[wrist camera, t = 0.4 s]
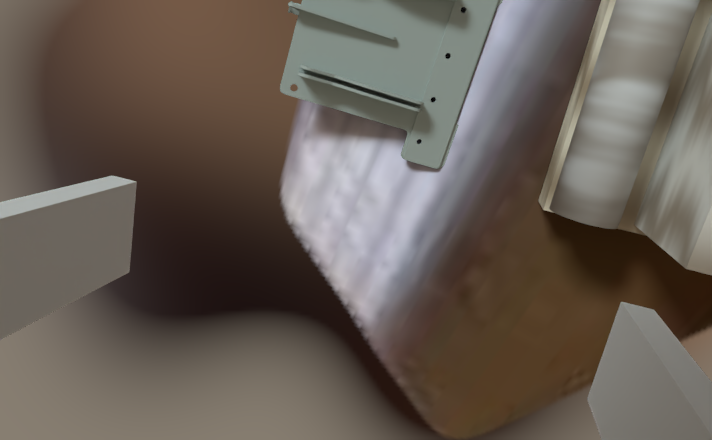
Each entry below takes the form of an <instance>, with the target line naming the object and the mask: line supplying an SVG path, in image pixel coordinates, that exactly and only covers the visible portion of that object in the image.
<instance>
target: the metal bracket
mask: <svg viewBox="0 0 712 440" xmlns="http://www.w3.org/2000/svg"><path fill="white" fill-rule="evenodd" d="M502 1H503V0H302V3H301V4H298V3H293V2H292V1H291V3H289V4H288V6H289V11H288V12H289V13H290V12H291V13H293V14H296V15H298V19H297V23H296V27H295V31H294V35H293V38H292V42H291V46H290V50H289V54H288V58H287V62H286V66H285V70H284V74H283V78H282V81H281V85H280V90H281V92H282V93H283V94H287V95H290V96H293V97H297V98H300V99H303V100H306V101H310V102H313V103H316V104H320V105H323V106H326V107H330V108H333V109H336V110H340V111H343V112H346V113H350V114H353V115H356V116H360V117H363V118H366V119H370V120H373V121H377V122H380V123H383V124H387V125H390V126H393V127H397V128H400V129H403V130H405V131H406V132H407V137H406V140H405V143H404V146H403V149H402V152H401V156H402V158H403V159H405V160H407V161H410V162H414V163H417V164H421V165H424V166H428V167H431V168H435V169H440V168H442V167H443V166H444V164H445V161H446V159H447V156H448V153H449V150H450V147H451V144H452V142H453V139H454V136H455V133H456V130H457V128H458V124H457V119H458V116H459V113H460V110H461V108H462V105H463V102H464V99H465V96H466V93H467V91H468V88H469V85H470V82H471V79H472V76H473V74H474V71H475V68H476V65H477V62H478V59H479V57H480V54H481V51H482V48H483V45H484V42H485V40H486V37H487V34H488V31H489V28H490V25H491V23H492V20H493V17H494V14H495V11H496V8H497V6H498V5H499V4H501V3H502ZM462 7H464V8H465V9H466V12H465V13H462V12H461V8H462ZM447 53H449V54H450V58H449V59H447V58H446V57H445V55H446V54H447ZM292 84H296V85H297V86H298V90H297V91H295V92H293V91H291V89H290V86H291V85H292ZM432 97H435V99H436V100H435V102H431V98H432ZM418 139H421V143H420V144H417V140H418Z"/></svg>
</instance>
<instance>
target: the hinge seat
mask: <svg viewBox="0 0 712 440" xmlns="http://www.w3.org/2000/svg"><path fill="white" fill-rule="evenodd" d="M538 201H539V203H540V205H541V207H542V209H543V210H545V211H549V212H553V213H556V214H558V215H560V216H563V217H565V218H568V219H571V220H574V221H577V222H580V223H584V224H587V225H591V226H596V227H600V228H606V229H621V230H625V231H629V232H633V233H637V234H641V235H645V236H648V237H649V238H650V239H651V240H653V241H654V242H655V243H656V244H657V245H658V246H660V247H661V248H662V249H663V250H664V251H665V252H667V253H668V254H669V255H670V256H671V257H673V258H674V259H675V260H676V261H677V262H678V263H680V264H681V265H682V266H683V267H684V268H685V269H688V270H692V271H696V272H700V273H704V274H708V275H712V0H601V3H600V7H599V10H598V13H597V16H596V19H595V22H594V26H593V29H592V32H591V35H590V38H589V42H588V45H587V48H586V51H585V54H584V57H583V61H582V64H581V67H580V70H579V73H578V76H577V80H576V83H575V86H574V89H573V92H572V96H571V99H570V102H569V105H568V108H567V111H566V115H565V118H564V121H563V124H562V127H561V131H560V134H559V137H558V140H557V143H556V146H555V150H554V153H553V156H552V159H551V162H550V166H549V169H548V172H547V175H546V178H545V181H544V185H543V188H542V191H541V194H540V197H539V200H538Z"/></svg>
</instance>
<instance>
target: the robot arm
mask: <svg viewBox="0 0 712 440" xmlns="http://www.w3.org/2000/svg"><path fill="white" fill-rule="evenodd" d="M136 183H137V182H135V181H132V180H127V179H123V178H120V177H116V176H109V177H105V178H100V179H96V180H92V181H88V182H84V183H79V184H75V185H71V186H67V187H63V188H58V189H54V190H50V191H46V192H42V193H37V194H33V195H29V196H25V197H20V198H16V199H12V200H8V201H4V202H0V340H1V339H3V338H5V337H7V336H9V335H11V334H12V333H14V332H16V331H18V330H20V329H22V328H24V327H26V326H28V325H30V324H31V323H33V322H35V321H37V320H39V319H41V318H43V317H45V316H47V315H49V314H50V313H52V312H54V311H56V310H58V309H60V308H62V307H64V306H66V305H68V304H69V303H71V302H73V301H75V300H77V299H79V298H81V297H83V296H85V295H86V294H88V293H90V292H92V291H94V290H96V289H98V288H100V287H102V286H104V285H105V284H107V283H109V282H111V281H113V280H115V279H117V278H119V277H121V276H123V275H125V274H126V273H128V272H129V269H130V256H131V244H132V231H133V219H134V207H135V194H136ZM587 400H588V403H589V406H590V408H591V411H592V414H593V417H594V420H595V422H596V425H597V428H598V431H599V434H600V436H601V439H602V440H712V382H711V380H710V379H709V378H708V377H707V375H706V374H705V373H704V372H703V370H702V369H701V368H700V367H699V366H698V364H697V363H696V362H695V360H694V359H693V358H692V357H691V355H690V354H689V353H688V352H687V351H686V349H685V348H684V347H683V345H682V344H681V343H680V342H679V340H678V339H677V338H676V337H675V335H674V334H673V333H672V332H671V330H670V329H669V328H668V327H667V325H666V324H665V323H664V322H663V320H662V319H661V318H660V317H659V315H658V314H657V313H656V312H655V310H653V309H649V308H645V307H641V306H637V305H633V304H629V303H625V302H621V303H620V306H619V309H618V312H617V315H616V318H615V321H614V323H613V326H612V329H611V332H610V335H609V338H608V341H607V344H606V346H605V349H604V352H603V355H602V358H601V361H600V364H599V366H598V369H597V372H596V375H595V378H594V381H593V384H592V387H591V389H590V392H589V395H588V398H587Z"/></svg>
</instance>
